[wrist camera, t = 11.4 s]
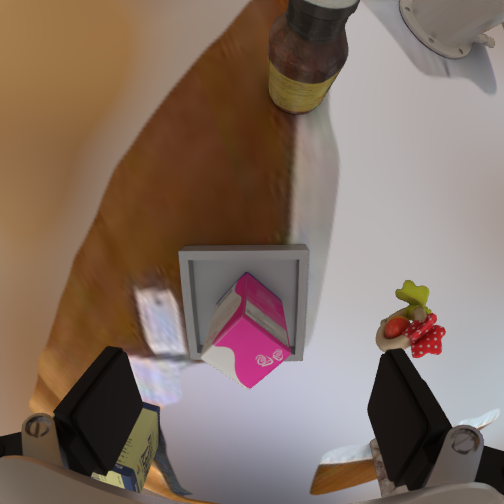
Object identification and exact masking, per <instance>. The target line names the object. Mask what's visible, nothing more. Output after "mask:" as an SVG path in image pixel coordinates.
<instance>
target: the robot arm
mask: <svg viewBox="0 0 504 504" xmlns="http://www.w3.org/2000/svg"><path fill="white" fill-rule="evenodd" d="M399 7H400V11H401V14H402V16H403V19H404V20H405V22H406V24H407V26H408V27H409V28H410V29H411V31H412V32H413V33H414V34H415V35H416V37H417V38H418V39H419V40H420V41H422V42H423V43H424V44H425V45H426V46H428V47H429V48H430V49H432V50H433V51H435V52H436V53H438V54H440V55H442V56H445V57H448V58H453V59H458V58H462V57H464V56H466V55H467V54H468V53H469V52H470V50H471V46H472V43H473V42H476V43H479V42H481V43H482V44H484V45H486V46H488V47H490V48H493V47H494V46H495V41H494V39H493V38H491V37H489V36H487V35H485V34H483V33H484V32H486V31H488V30H490V29H491V28H493V27H495V26H497V25H499V24H501V23H503V22H504V0H400V4H399ZM142 409H143V402H142V399H141V396H140V393H139V390H138V387H137V384H136V381H135V378H134V375H133V372H132V369H131V366H130V362H129V359H128V355H127V353H126V352H124V351H123V349H122V348H118V347H111V346H107V347H106V348H105V349H104V350H103V351H102V353H101V354H100V355H99V356H98V357H97V358H96V360H95V361H94V362H93V363H92V364H91V366H90V367H89V368H88V369H87V370H86V372H85V373H84V374H83V375H82V376H81V378H80V379H79V380H78V381H77V383H76V384H75V385H74V386H73V387H72V389H71V390H70V391H69V392H68V394H67V395H66V396H65V397H64V399H63V400H62V401H61V402H60V404H59V405H58V406H57V407H56V409H55V410H54V411H53V412H54V414H55V416H54V417H53V418H52V417H51V416H50V415H48V414H46V413H36V414H33V415H31V416H29V417H28V418H27V419H26V420H25V421H24V422H23V424H22V429H21V430H22V431H21V432H18V433H14V434H9V435H5V436H0V504H190V503H184V502H178V501H173V500H167V499H163V498H158V497H154V496H150V495H145V494H142V493H138V492H134V491H130V490H127V489H124V488H120V487H117V486H114V485H111V484H108V483H105V482H102V481H99V480H96V479H93V478H92V477H91V475H92V473H93V472H94V473H97V474H99V475H102V476H105V477H106V476H107V474H108V472H109V471H112V470H113V468H114V466H115V464H116V462H117V460H118V458H119V456H120V454H121V452H122V450H123V448H124V446H125V444H126V442H127V440H128V438H129V436H130V434H131V431H132V429H133V427H134V425H135V423H136V421H137V419H138V417H139V415H140V413H141V411H142ZM367 410H368V416H369V419H370V422H371V425H372V428H373V431H374V434H375V437H376V440H377V444H378V447H379V450H380V453H381V456H382V460H383V463H384V466H385V470H386V473H387V477H388V479H389V481H390V482H392V481H393V482H394V486H395V488H397V487H400V486H404V485H406V486H407V489H408V490H409V492H405V493H401V494H397V495H393V496H388V497H384V498H379V499H374V500H370V501H364V502H358V503H351V504H504V451H501V450H498V449H494V448H491V447H488V446H484V439H483V436H482V434H481V433H480V431H479V430H477V429H476V428H475V427H472V426H470V425H458V426H456V427H454V428H453V427H452V425H451V424H450V422H449V420H448V418H447V417H446V415H445V413H444V412H443V410H442V408H441V406H440V405H439V403H438V401H437V400H436V398H435V397H434V395H433V393H432V392H431V390H430V388H429V387H428V385H427V383H426V382H425V381H424V380H423V379H422V378H421V376H420V375H419V373H418V371H417V370H416V368H415V367H414V365H413V364H412V362H411V360H410V359H409V357H408V356H407V354H406V353H405V351H404V350H403V349H402V348H396V349H388V350H386V352H385V354H382V355H381V358H380V362H379V366H378V370H377V374H376V378H375V382H374V386H373V389H372V393H371V396H370V400H369V403H368V409H367Z"/></svg>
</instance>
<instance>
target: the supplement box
mask: <svg viewBox="0 0 504 504" xmlns="http://www.w3.org/2000/svg"><path fill="white" fill-rule="evenodd" d="M290 355H291V349H290V343H289V337H288V332H287V326H286V321H285V315H284V310H283V304H282V300H280V299H279V298H278V297H277V296H276V295H275V294H273V293H272V292H271V291H270V290H269V289H267V288H266V287H265V286H264V285H263V284H261V283H260V282H259V281H258V280H257V279H256V278H254V277H253V276H252V275H251V274H249V273H248V272H245V273H244V274H243V275H242V276H241V277H240V278H239V279H238V280H237V281H236V283H235V284H234V285H233V286H232V287H231V288H230V289H229V290H228V291H227V292H226V293H225V294H224V296H223V297H222V298H221V299H220V300H219V301H218V302H217V303H216V307H215V311H214V314H213V317H212V320H211V324H210V327H209V330H208V333H207V336H206V340H205V343H204V346H203V349H202V353H201V356H200V358H201V359H202V360H204V361H205V362H207V363H208V364H210V365H211V366H213V367H214V368H216V369H217V370H219V371H220V372H222V373H223V374H225V375H226V376H228V377H229V378H231V379H232V380H234V381H235V382H237V383H238V384H240V385H241V386H243V387H244V388H246V389H248V390H249V389H251V388H252V387H253V386H254V385H255V384H257V383H258V382H259V381H260V380H262V379H263V378H264V377H265V376H266V375H268V374H269V373H270V372H271V371H272V370H273V369H275V368H276V367H277V366H278V365H279V364H281V363H282V362H283V361H284V360H285V359H286V358H287V357H289V356H290Z"/></svg>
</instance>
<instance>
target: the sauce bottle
mask: <svg viewBox="0 0 504 504" xmlns="http://www.w3.org/2000/svg"><path fill="white" fill-rule="evenodd" d="M359 2H360V0H289V3H288V8H287V11H286V12H285V13H283V14H282V15H280V16H279V17H277V18H276V19H275V20H274V23H273V25H272V27H271V30H270V34H269V45H268V89H269V95H270V97H271V99H272V101H273V102H274V103H275V105H277V106H278V107H279V108H280V109H281V110H283V111H285V112H288V113H293V114H304V113H308V112H309V111H311V110H312V109H314V108H315V107H317V106H318V105H319V104H320V103H321V102H322V100H323V98H324V97H325V95H326V93H327V92H328V90H329V88H330V87H331V85H332V84H333V82H334V81H335V79H336V77H337V75H338V74H339V72H340V71H341V69H342V67H343V66H344V64H345V62H346V60H347V56H348V43H347V37H346V32H345V24H346V22H347V19H348V17H349V16H350V15H351V14H352V13H354V12H355V10H356V9H357V7H358V4H359Z"/></svg>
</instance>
